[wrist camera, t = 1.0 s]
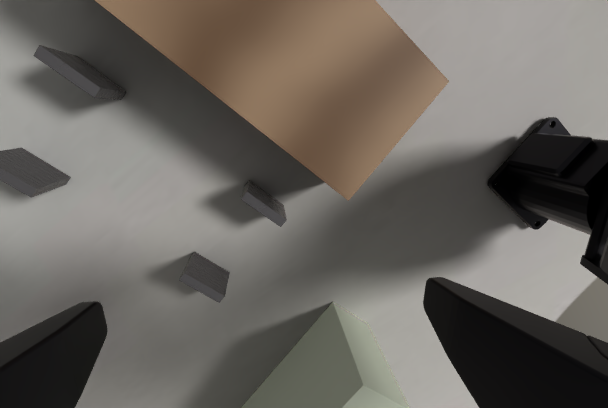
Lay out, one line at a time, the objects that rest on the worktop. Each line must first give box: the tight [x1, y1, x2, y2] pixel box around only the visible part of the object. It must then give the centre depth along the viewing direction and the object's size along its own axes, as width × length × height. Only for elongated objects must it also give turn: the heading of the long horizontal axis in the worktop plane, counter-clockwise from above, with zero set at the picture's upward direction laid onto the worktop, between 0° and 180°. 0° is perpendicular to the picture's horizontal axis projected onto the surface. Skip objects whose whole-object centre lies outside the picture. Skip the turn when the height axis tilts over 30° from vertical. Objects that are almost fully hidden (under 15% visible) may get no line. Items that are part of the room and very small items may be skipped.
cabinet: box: [0, 0, 449, 303], centre depth 16 cm, size 18×19×5 cm
